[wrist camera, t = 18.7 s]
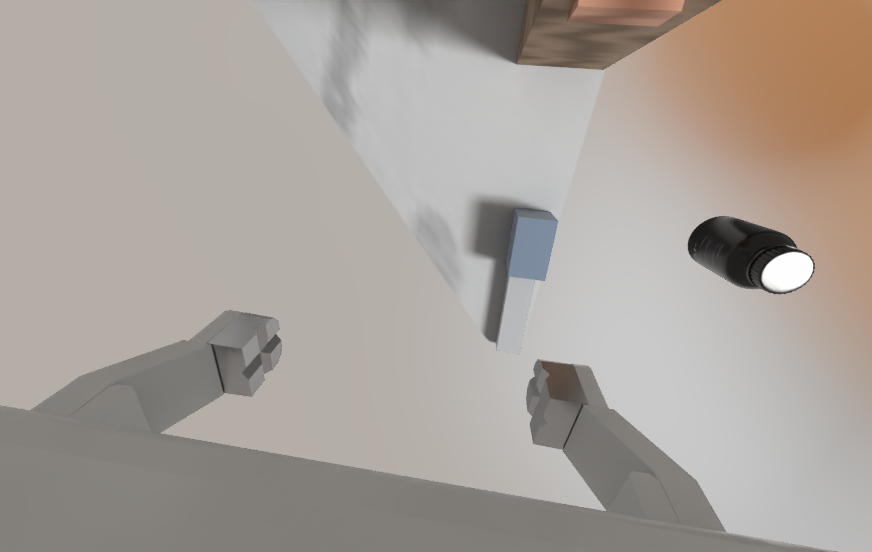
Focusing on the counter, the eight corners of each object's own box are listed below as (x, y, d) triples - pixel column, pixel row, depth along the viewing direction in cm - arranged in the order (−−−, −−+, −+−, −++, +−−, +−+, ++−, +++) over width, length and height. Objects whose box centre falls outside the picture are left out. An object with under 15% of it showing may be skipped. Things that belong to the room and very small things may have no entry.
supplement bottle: (745, 209, 43) (835, 234, 32) (741, 259, 45) (824, 298, 34) (685, 220, 44) (751, 247, 33) (684, 268, 46) (745, 308, 36)
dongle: (492, 342, 55) (492, 362, 50) (514, 208, 47) (518, 217, 41) (521, 346, 55) (525, 367, 50) (550, 211, 46) (558, 221, 41)
